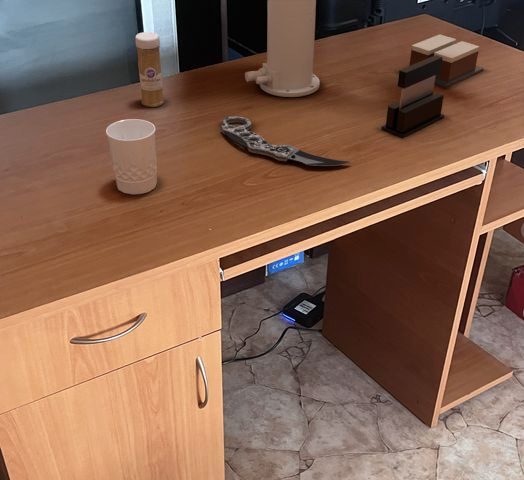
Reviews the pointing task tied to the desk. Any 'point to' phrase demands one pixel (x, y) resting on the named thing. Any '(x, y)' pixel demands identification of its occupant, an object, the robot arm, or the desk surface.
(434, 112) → the stand
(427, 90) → the plate
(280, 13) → the robot arm
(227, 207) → the desk surface
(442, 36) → the cake
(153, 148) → the white cup
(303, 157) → the knife
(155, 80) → the sprinkles bottle
